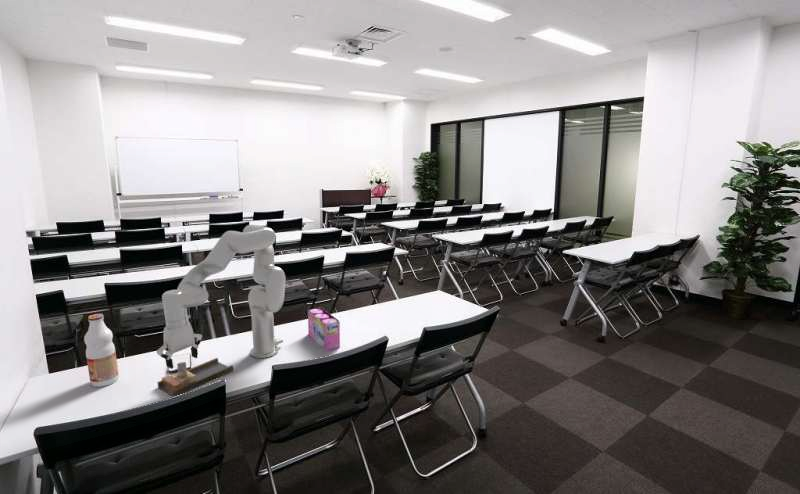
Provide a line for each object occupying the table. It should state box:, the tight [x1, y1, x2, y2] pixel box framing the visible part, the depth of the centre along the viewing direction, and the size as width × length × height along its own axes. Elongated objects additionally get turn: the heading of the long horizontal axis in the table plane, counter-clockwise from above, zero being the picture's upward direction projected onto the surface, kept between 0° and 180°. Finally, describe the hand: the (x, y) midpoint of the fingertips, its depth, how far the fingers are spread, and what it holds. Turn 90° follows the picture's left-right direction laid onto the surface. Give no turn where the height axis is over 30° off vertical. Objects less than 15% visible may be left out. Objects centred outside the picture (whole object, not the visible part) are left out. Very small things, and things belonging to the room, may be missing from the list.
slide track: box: [157, 357, 234, 398], centre depth 169 cm, size 25×12×4 cm, turn 145°
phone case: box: [167, 352, 192, 375], centre depth 182 cm, size 9×2×16 cm
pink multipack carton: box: [307, 306, 341, 352], centre depth 206 cm, size 24×8×14 cm, turn 33°
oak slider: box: [169, 362, 196, 387], centre depth 164 cm, size 6×8×8 cm
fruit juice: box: [83, 313, 120, 388], centre depth 164 cm, size 9×9×28 cm
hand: (182, 362), depth 163 cm, fingers open, 9 cm apart
